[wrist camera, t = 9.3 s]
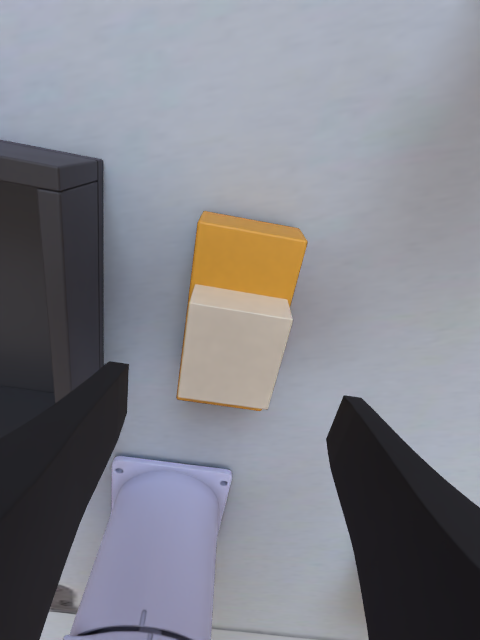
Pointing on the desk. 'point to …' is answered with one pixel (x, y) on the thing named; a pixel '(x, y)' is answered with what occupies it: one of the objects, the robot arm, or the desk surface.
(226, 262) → the two-tone block
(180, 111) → the desk surface
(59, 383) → the storage box
